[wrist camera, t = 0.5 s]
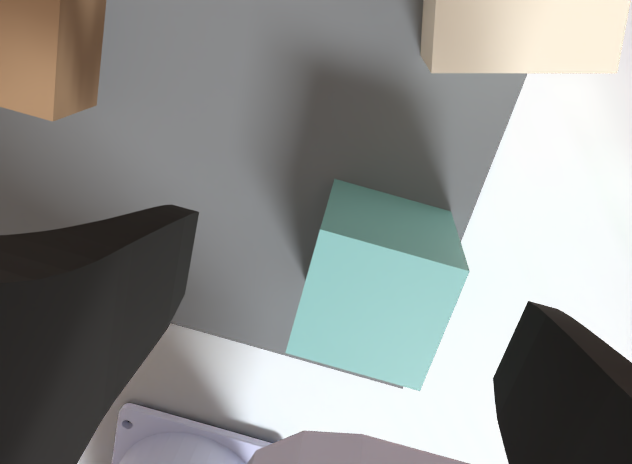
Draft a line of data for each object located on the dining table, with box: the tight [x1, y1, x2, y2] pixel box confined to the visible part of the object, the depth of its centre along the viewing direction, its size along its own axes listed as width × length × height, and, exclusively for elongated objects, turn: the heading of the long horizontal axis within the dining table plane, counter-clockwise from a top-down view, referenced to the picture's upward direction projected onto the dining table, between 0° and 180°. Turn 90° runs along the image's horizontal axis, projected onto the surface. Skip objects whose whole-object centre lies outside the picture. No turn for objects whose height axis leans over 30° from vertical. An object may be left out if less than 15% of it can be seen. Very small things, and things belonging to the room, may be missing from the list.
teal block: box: [285, 179, 469, 391], centre depth 19 cm, size 4×4×5 cm
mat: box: [0, 0, 527, 389], centre depth 20 cm, size 20×24×1 cm
